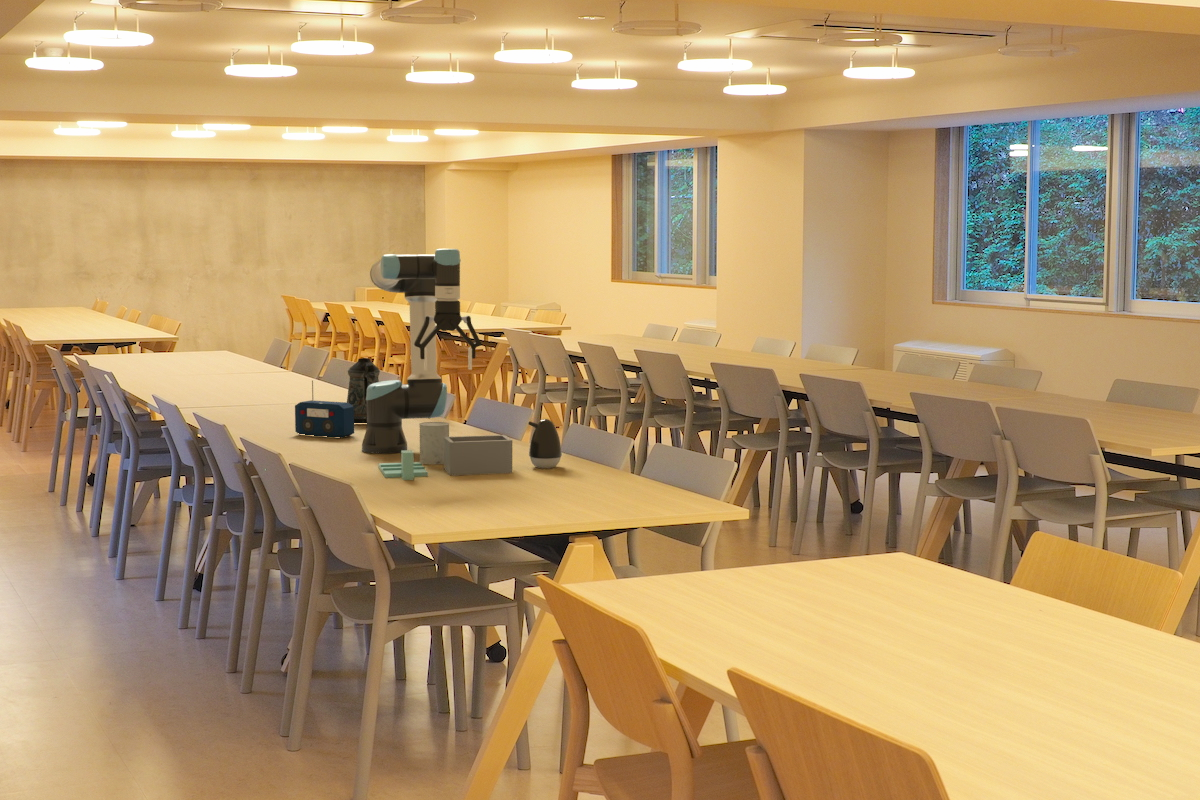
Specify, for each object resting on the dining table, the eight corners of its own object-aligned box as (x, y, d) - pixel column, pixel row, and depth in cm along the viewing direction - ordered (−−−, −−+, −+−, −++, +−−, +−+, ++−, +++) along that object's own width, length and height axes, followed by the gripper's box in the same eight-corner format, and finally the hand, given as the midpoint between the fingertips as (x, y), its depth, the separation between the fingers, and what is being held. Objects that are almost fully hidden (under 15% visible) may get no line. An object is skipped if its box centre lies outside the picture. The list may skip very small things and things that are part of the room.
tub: (444, 468, 397) (444, 436, 396) (504, 466, 402) (504, 434, 401) (450, 475, 385) (450, 442, 384) (512, 472, 390) (512, 440, 389)
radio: (293, 435, 466) (292, 381, 463) (307, 432, 474) (306, 378, 471) (342, 439, 458) (341, 383, 455) (355, 436, 466) (354, 381, 463)
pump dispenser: (529, 464, 406) (529, 416, 404) (562, 464, 406) (562, 416, 405) (527, 469, 396) (527, 421, 394) (561, 470, 396) (561, 421, 394)
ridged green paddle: (387, 480, 376) (386, 453, 375) (378, 467, 400) (378, 441, 399) (430, 478, 379) (429, 452, 378) (419, 465, 403) (418, 440, 402)
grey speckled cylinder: (444, 464, 404) (443, 426, 403) (415, 463, 406) (414, 425, 405) (453, 460, 414) (453, 422, 412) (425, 459, 416) (425, 421, 414)
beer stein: (365, 418, 515) (364, 356, 512) (400, 422, 504) (399, 358, 501) (334, 422, 502) (333, 358, 499) (369, 426, 490) (368, 361, 488)
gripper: (407, 300, 382) (407, 371, 385) (490, 300, 388) (490, 370, 391) (405, 299, 389) (405, 368, 392) (486, 299, 395) (486, 367, 398)
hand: (447, 369), depth 391 cm, fingers open, 13 cm apart
